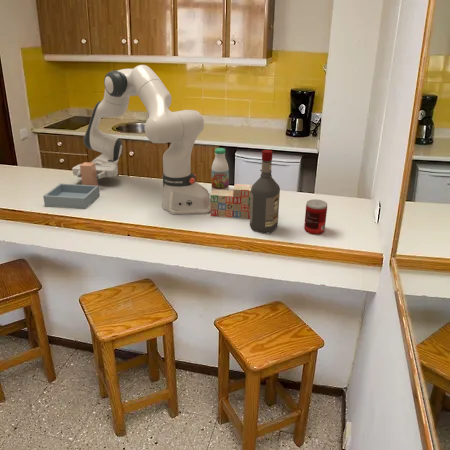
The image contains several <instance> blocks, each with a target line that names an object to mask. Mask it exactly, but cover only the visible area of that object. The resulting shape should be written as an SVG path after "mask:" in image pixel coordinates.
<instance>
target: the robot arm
mask: <svg viewBox="0 0 450 450" xmlns="http://www.w3.org/2000/svg"><path fill="white" fill-rule="evenodd" d="M103 84H104V85H103V86H104V94H103V99H102V100H101V101H98V102H97V103H96V104H95V106H94V108H93V111H92V114H91V116H90V119H89V123H88V126H87V129H86V131H85V134H84V136H83V141H82V142H83V144H84V146H85V147H86V149H88V150H92V151H96V152H99V153H101V154H99V155H98V156H96V157H95V158H94V159H93V160H92V161H90V162H91V163H95V166H96V174H97V175H96V178H97V180H98V179H99V180H100V179H101V178H116V177H117V175H118V174H119V169H118V168H119V166H118V162H119V161H120V158H121V157H122V154H123V151H124V145H123V142H122V139H121V138H120V137H117V136H114V135H112V134H109V133H106V132H103V131H101V130H100V129H99V126H100V124H101V120H102V118H103V119H104V118H112V119H113V118H118V117H121V116H124V115H125V114H126V112H127V111H128V108H129V103H130V97H135V96H138V97H139V99H140V101H141V103H142V104H143V106H144V107H145V108H146V111H147V113H148V118H147V120H146V121H145V123H144V133H145V135H146V137H147V139H148V140H149V141H150V142H151V143H153V144H168V143H170V145H169V147H168V148H167V149H166V150H165V151H164V153H163V156H162V168H163V170H162V171H163V173H162V186H163V195H162V201H161V204H160V205H161V208H162V209H163V210H165V211H167V212H169V213H170V214H172V215H196V214H197V215H200V214H206V215H207V214H209V213H211V209H210V206H211V202H210V193H209V191H208V189H207V188H205V187H204V186H203V185H201V184H200V183H199V182H197V179H196V178H197V177H196V176H197V175H196V173H192V172H191V171H192V170H191V169H192V167H191V165H192V164H191V159H192V157H191V156H192V151H193V148H194V145H195V142H196V140H197V138H198V137H199V135H200V134H201V133H203V130H204V128H205V122H204V121H205V120H204V117H203V115H202V114H201V112H199V111H198V110H195V109H194V110H193V109H184V110H177V111H171V110H170V109H169V108H170V106H171V104H172V95H171V92H169V90H168V88H167V87H166V86H165V84H164V83H163V81H162V80H161V78H160V77H159V76H158V74H156V73H155V71H154V70H153V69H152V68H151V67H150V66H148V65H146V64H139V65H136V66H135V67H133V68H123V69H118V70H111V71H109V72H107V73H105V76H104V79H103ZM81 164H82V163H79V164H77V165H75V166H73V167H72V169H71V170H72V174H73V176H77V178H80V179H82V178H81V171H80V165H81Z"/></svg>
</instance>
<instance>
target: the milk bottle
mask: <svg viewBox="0 0 450 450" xmlns="http://www.w3.org/2000/svg"><path fill="white" fill-rule="evenodd" d="M214 155H215V157H214V159H213V162H212V164H211V192H212V191H213V190H227V191H230V190H229V189H230V188H229V183H230V182H229V181H230V179H229V178H230V177H229V176H230V174H229V173H230V172H229V171H230V169H229V164H228V161H227V159H226V148H225V147H224V148H223V147H216V148H215V149H214Z"/></svg>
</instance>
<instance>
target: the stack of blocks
mask: <svg viewBox="0 0 450 450" xmlns="http://www.w3.org/2000/svg"><path fill="white" fill-rule="evenodd" d="M252 185H253V184H241V183H235V184H234V186H233V190H229V191H227V190H213V191H212V190H211V192H210V194H209V197H210V202H211V206H210V209H211V212H210V216H211V217H219V218H221V217H222V218H235V219H246V220H247V219H248V220H250V207H251V188H252Z"/></svg>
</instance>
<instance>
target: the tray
mask: <svg viewBox="0 0 450 450" xmlns="http://www.w3.org/2000/svg"><path fill="white" fill-rule="evenodd" d="M100 194H101V193H100V186H99V185H98V186H93V185H82V184H75V183H74V184H72V183H70V184H69V183H59V184H58V185H56V186H54V188H51V190H49V191H48V192H46V193H45V194H43V196H42V197H43V204H44V206H45V207H53V208H55V207H56V208H68V209H69V208H70V209H84V210H85V209H87V208H88V207H90V205H91V204H92V203H94V202H95V201H96V200H97V199H98V197H100Z"/></svg>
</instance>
